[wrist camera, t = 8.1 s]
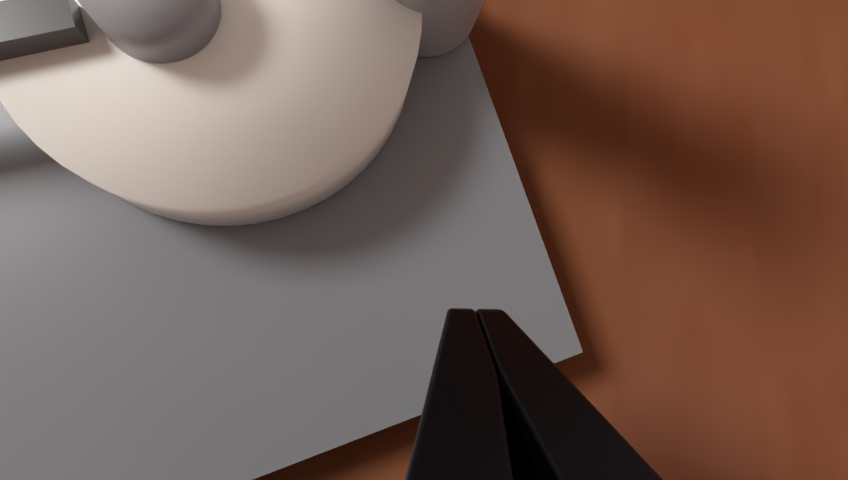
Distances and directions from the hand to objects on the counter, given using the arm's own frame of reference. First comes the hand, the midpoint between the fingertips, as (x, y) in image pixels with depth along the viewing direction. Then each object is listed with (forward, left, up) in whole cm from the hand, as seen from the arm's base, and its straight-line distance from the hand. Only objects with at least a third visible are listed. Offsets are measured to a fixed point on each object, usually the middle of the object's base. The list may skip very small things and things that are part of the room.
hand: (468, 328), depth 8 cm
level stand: (+6, +4, -7) cm, 10 cm away
